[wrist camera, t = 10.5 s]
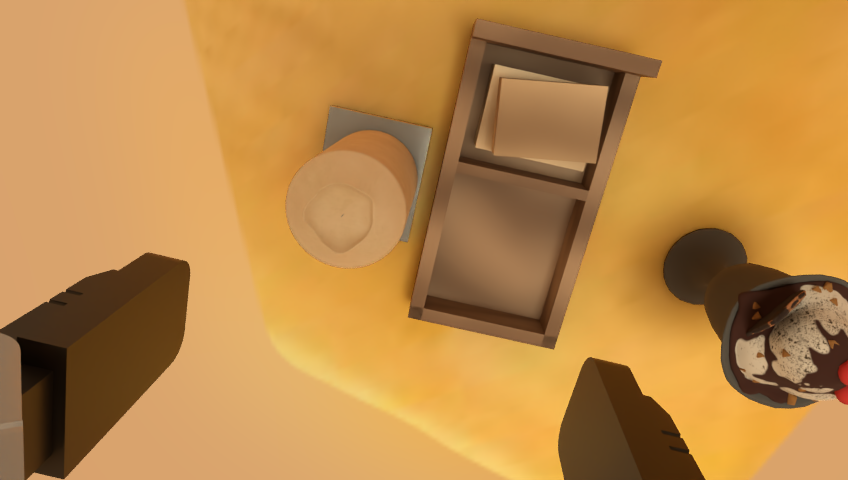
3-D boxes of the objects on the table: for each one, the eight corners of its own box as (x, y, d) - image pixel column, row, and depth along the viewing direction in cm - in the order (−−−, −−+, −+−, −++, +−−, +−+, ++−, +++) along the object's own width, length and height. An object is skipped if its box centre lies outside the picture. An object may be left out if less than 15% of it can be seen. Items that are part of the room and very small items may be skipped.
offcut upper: (499, 77, 30) (501, 78, 28) (599, 84, 30) (608, 86, 28) (491, 149, 31) (493, 155, 30) (588, 157, 31) (595, 163, 29)
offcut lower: (492, 63, 32) (495, 64, 30) (597, 87, 32) (607, 89, 30) (473, 141, 34) (475, 147, 31) (574, 164, 34) (583, 171, 31)
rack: (473, 24, 32) (476, 18, 27) (631, 60, 32) (662, 60, 28) (411, 300, 37) (404, 336, 32) (547, 330, 37) (561, 370, 33)
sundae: (757, 313, 36) (954, 477, 22) (647, 318, 37) (770, 483, 22) (767, 210, 34) (989, 318, 20) (650, 218, 35) (787, 328, 21)
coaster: (332, 105, 34) (330, 106, 33) (432, 127, 34) (432, 129, 33) (313, 218, 36) (311, 220, 35) (408, 239, 36) (407, 242, 35)
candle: (411, 227, 35) (394, 289, 26) (321, 213, 35) (271, 269, 26) (424, 137, 34) (412, 166, 24) (330, 122, 34) (281, 145, 24)
